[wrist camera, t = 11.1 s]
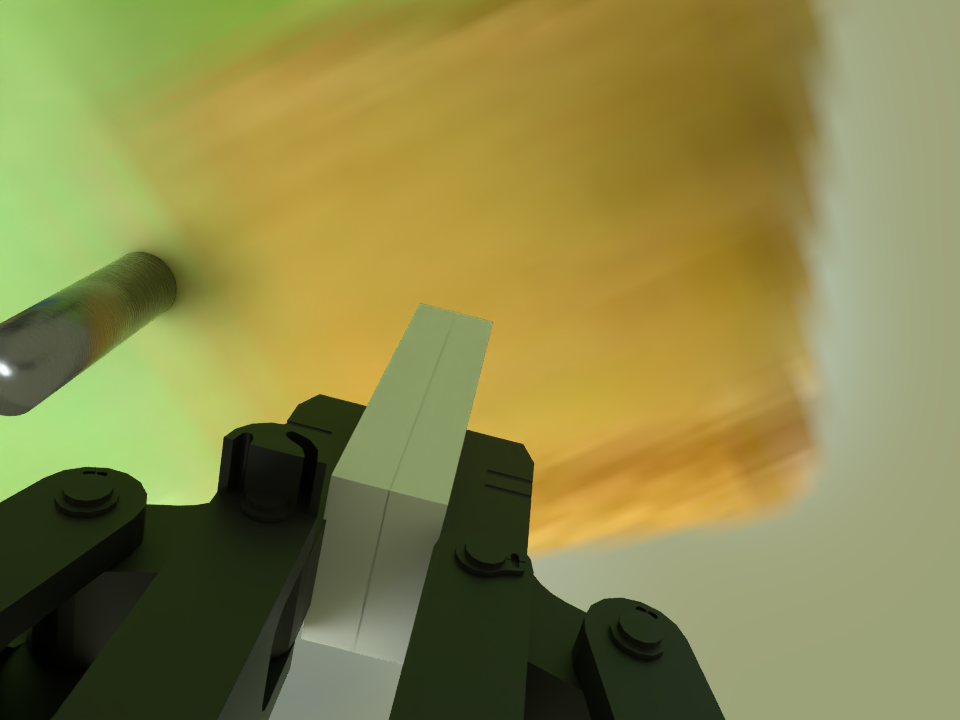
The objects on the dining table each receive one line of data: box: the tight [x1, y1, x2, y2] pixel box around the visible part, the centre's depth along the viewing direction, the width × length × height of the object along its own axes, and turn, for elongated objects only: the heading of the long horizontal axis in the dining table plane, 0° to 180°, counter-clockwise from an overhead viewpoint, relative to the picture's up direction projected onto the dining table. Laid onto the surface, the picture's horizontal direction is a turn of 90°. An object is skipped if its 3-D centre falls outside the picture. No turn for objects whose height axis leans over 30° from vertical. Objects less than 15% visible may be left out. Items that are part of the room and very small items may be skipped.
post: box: [0, 252, 176, 416], centre depth 28 cm, size 3×3×9 cm
